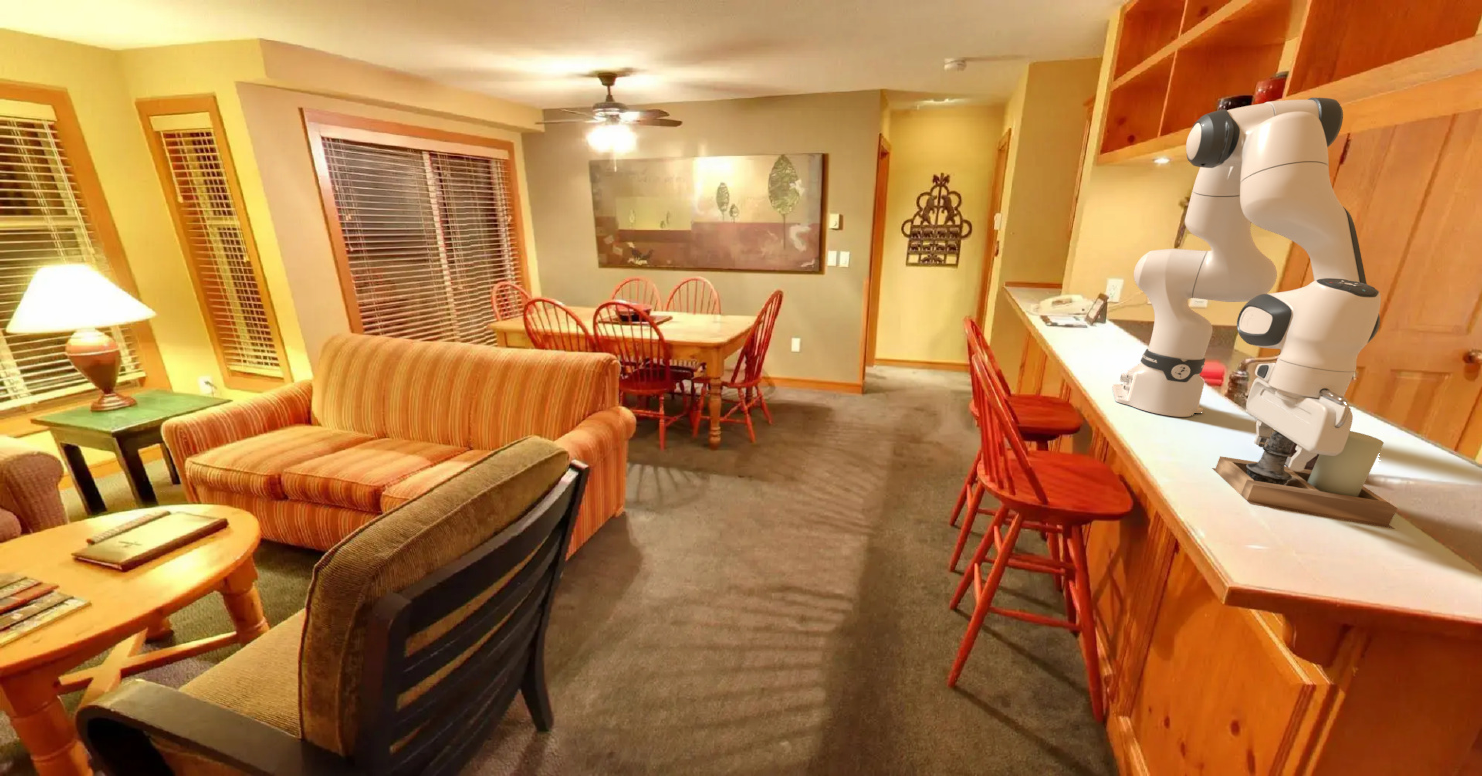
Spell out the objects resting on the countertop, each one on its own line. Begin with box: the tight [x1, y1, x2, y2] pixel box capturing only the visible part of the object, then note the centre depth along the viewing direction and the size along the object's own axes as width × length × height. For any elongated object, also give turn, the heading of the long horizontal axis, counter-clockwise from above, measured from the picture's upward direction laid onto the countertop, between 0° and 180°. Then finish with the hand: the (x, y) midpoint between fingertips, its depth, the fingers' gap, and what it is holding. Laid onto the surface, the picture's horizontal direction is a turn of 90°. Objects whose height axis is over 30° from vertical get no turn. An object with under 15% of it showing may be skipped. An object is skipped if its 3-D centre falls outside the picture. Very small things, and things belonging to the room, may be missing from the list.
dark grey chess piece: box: [1246, 430, 1293, 485], centre depth 92 cm, size 6×6×12 cm
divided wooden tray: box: [1211, 456, 1398, 530], centre depth 92 cm, size 14×18×4 cm
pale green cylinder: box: [1307, 430, 1385, 497], centre depth 89 cm, size 6×6×12 cm
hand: (1276, 457), depth 92 cm, fingers open, 8 cm apart
